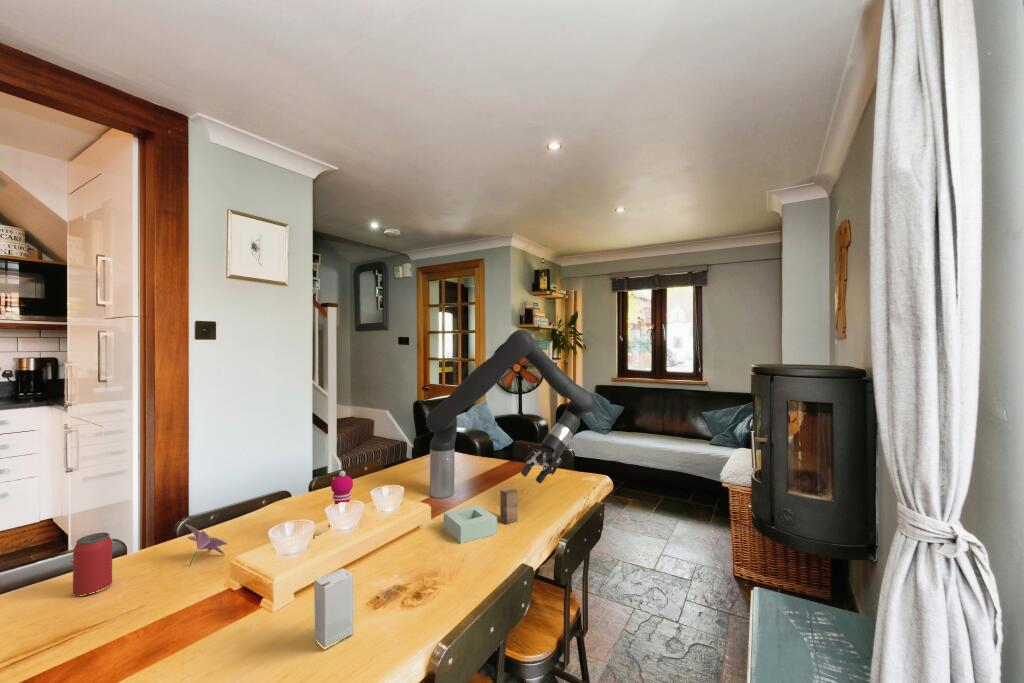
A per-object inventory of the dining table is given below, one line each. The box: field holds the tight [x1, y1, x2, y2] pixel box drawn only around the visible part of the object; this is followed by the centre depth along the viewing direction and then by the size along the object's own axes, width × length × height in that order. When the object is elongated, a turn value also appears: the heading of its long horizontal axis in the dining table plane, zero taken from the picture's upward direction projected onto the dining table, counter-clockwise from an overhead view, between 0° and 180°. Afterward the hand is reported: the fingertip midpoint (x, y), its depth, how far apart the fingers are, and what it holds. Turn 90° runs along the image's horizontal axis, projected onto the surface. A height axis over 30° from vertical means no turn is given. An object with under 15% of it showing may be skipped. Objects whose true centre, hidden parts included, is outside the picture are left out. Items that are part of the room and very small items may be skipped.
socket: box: [443, 504, 498, 544], centre depth 131 cm, size 12×12×5 cm
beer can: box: [72, 532, 113, 596], centre depth 100 cm, size 7×7×12 cm
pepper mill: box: [328, 470, 354, 528], centre depth 126 cm, size 7×7×20 cm
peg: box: [499, 487, 519, 525], centre depth 139 cm, size 4×4×10 cm
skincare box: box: [313, 568, 355, 647], centre depth 83 cm, size 6×4×12 cm
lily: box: [184, 523, 228, 567], centre depth 114 cm, size 12×12×10 cm
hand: (530, 478), depth 144 cm, fingers open, 8 cm apart
